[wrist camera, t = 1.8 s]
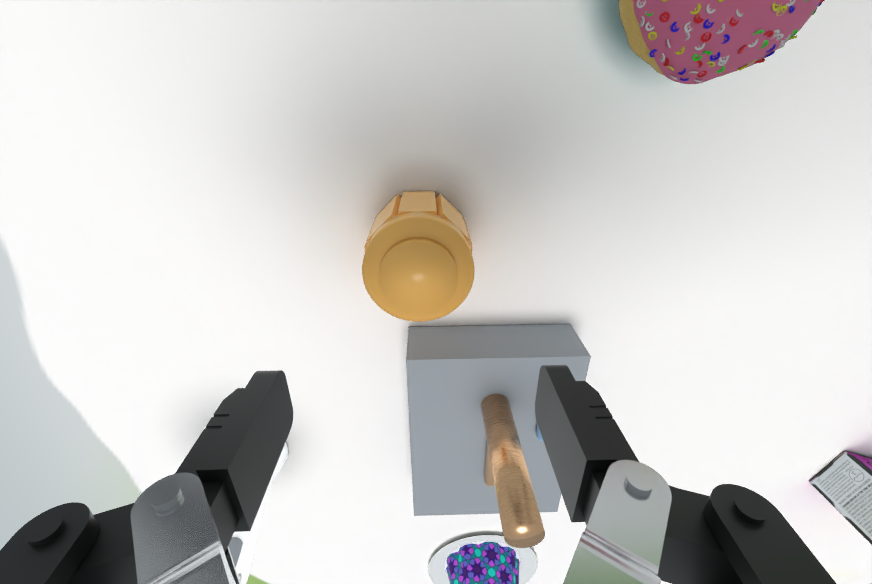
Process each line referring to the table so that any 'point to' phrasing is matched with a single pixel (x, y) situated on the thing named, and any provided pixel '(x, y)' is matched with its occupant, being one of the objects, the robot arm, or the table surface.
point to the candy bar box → (849, 489)
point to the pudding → (482, 563)
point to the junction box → (479, 409)
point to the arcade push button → (418, 257)
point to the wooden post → (511, 475)
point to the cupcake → (710, 33)
